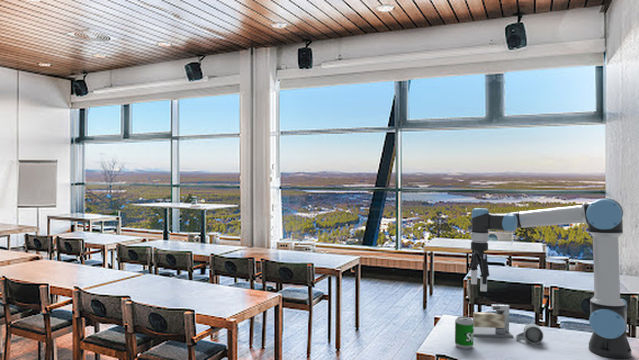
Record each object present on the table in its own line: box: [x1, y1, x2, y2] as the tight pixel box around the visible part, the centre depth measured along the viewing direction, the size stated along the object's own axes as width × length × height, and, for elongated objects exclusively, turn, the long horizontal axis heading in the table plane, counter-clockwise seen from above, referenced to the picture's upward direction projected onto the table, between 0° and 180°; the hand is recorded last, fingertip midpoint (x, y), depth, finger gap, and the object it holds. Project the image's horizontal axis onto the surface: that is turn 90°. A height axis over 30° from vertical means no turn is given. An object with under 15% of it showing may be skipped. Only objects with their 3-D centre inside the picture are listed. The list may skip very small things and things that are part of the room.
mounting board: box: [474, 327, 514, 339], centre depth 211 cm, size 15×18×4 cm
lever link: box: [472, 309, 505, 328], centre depth 206 cm, size 14×4×8 cm, turn 88°
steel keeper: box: [490, 304, 510, 332], centre depth 209 cm, size 2×8×13 cm, turn 88°
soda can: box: [454, 316, 474, 350], centre depth 191 cm, size 8×8×12 cm
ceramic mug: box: [515, 323, 544, 345], centre depth 199 cm, size 11×8×8 cm
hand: (478, 287), depth 206 cm, fingers open, 13 cm apart
